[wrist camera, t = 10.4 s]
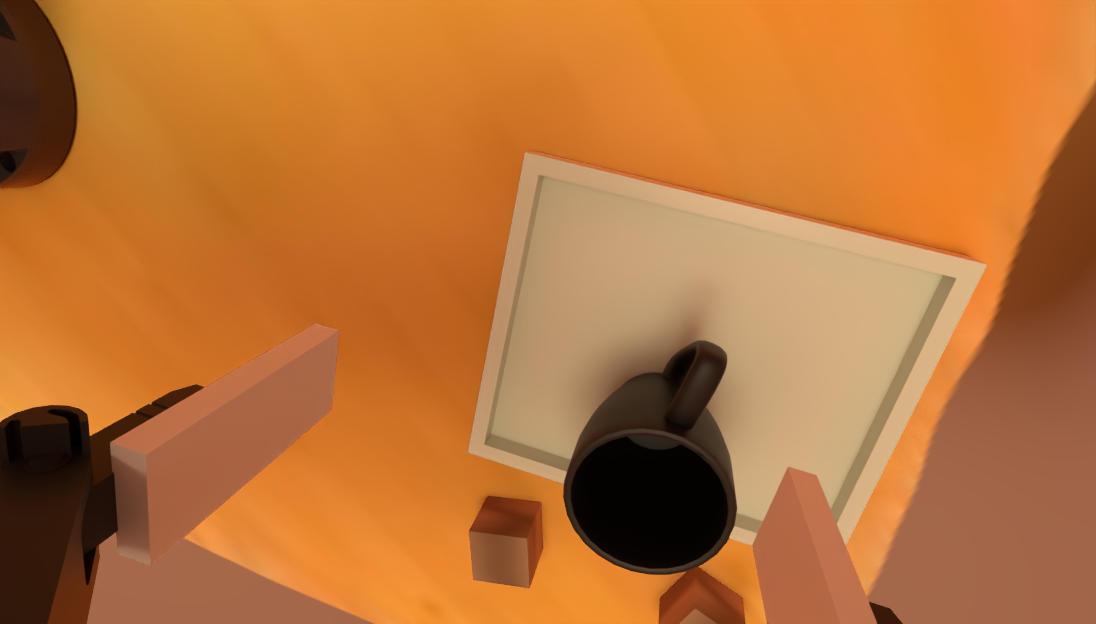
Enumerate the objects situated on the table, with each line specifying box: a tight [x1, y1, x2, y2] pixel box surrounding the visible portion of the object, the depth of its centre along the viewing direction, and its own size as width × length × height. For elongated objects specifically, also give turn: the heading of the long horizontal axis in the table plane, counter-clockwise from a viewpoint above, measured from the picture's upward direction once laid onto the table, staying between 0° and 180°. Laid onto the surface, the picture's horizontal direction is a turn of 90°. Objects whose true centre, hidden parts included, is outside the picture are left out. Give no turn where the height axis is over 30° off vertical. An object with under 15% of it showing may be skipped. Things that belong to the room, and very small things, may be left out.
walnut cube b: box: [659, 567, 745, 624], centre depth 38 cm, size 4×4×4 cm
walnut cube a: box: [469, 496, 543, 588], centre depth 40 cm, size 4×4×4 cm
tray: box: [468, 151, 987, 546], centre depth 34 cm, size 24×20×2 cm
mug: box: [563, 340, 737, 575], centre depth 31 cm, size 8×12×10 cm
